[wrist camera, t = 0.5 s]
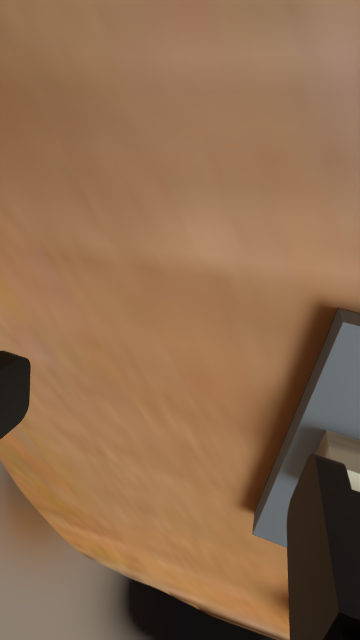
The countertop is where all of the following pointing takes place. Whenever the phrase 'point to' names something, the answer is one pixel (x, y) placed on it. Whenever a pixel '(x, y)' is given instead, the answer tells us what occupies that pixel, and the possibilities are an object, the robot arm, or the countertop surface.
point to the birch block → (342, 454)
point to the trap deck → (315, 422)
